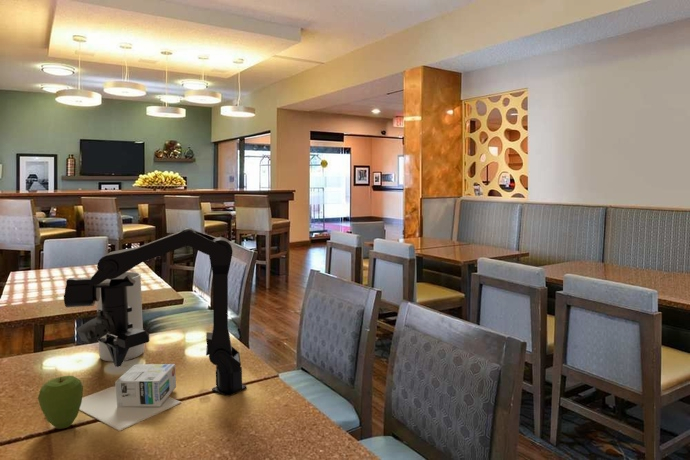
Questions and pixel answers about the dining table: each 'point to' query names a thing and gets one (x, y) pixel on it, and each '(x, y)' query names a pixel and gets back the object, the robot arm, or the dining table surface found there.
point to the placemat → (119, 409)
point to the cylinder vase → (134, 315)
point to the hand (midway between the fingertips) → (118, 366)
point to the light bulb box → (145, 385)
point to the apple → (61, 400)
